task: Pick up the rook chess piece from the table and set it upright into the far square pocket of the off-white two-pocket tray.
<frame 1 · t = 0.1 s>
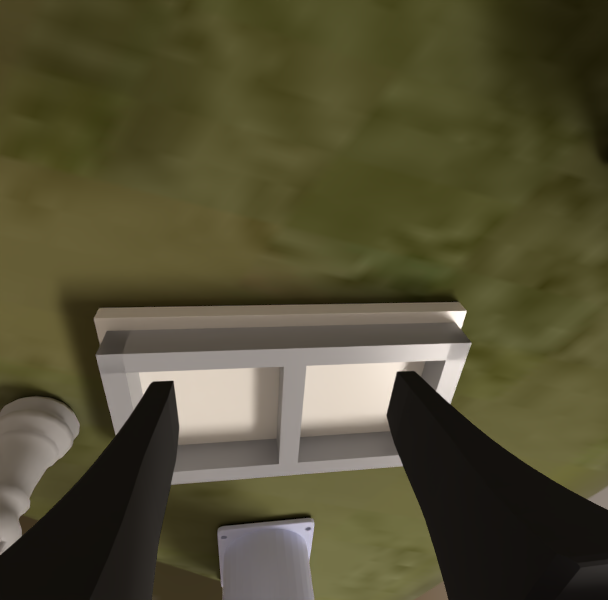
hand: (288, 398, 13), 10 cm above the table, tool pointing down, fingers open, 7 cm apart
pocket tray: (286, 383, 26), on the table
rook chess piece: (44, 415, 25), on the table
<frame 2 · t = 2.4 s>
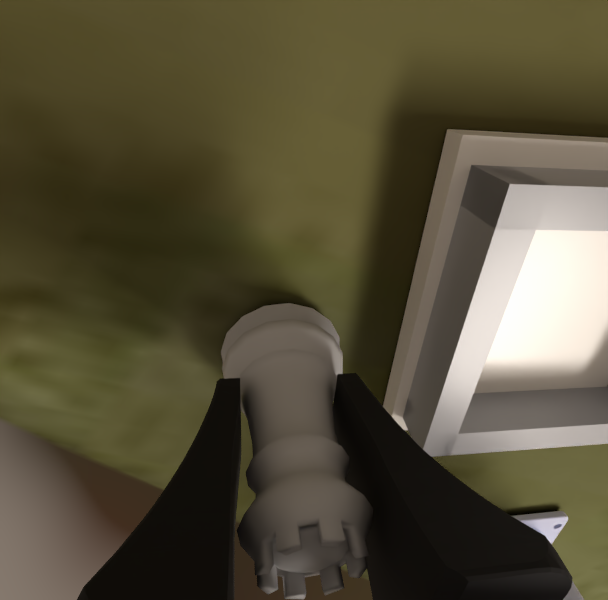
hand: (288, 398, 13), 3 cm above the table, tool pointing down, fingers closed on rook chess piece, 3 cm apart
rook chess piece: (280, 342, 16), on the table, touching gripper
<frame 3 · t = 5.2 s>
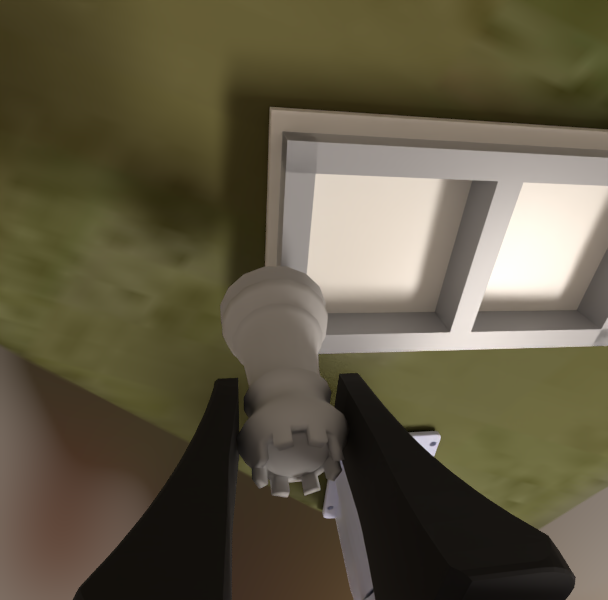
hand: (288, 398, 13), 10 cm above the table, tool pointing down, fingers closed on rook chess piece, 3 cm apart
pocket tray: (455, 240, 22), on the table
rook chess piece: (272, 303, 18), point 4 cm above the table, touching gripper
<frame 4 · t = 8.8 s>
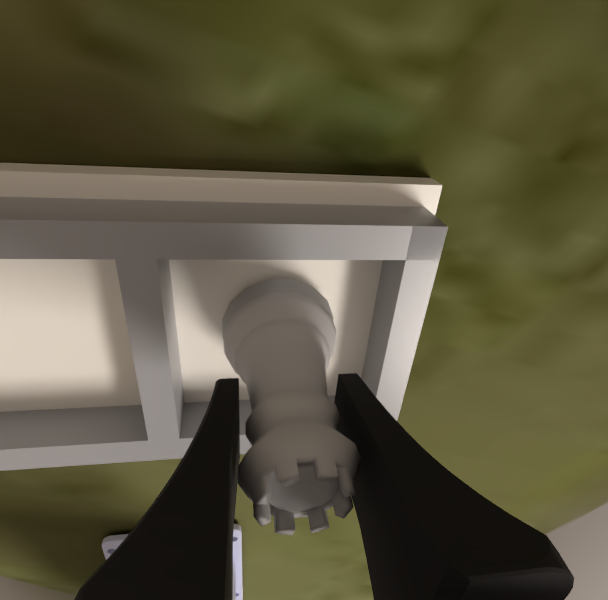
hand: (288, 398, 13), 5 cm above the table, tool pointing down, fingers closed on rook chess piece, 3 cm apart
pocket tray: (164, 315, 17), on the table
rook chess piece: (277, 318, 17), point 1 cm above the table, touching gripper, pocket tray
when the fingers open (4 cm above the table, at t = 9.4 s): rook chess piece stays where it is, resting on pocket tray.
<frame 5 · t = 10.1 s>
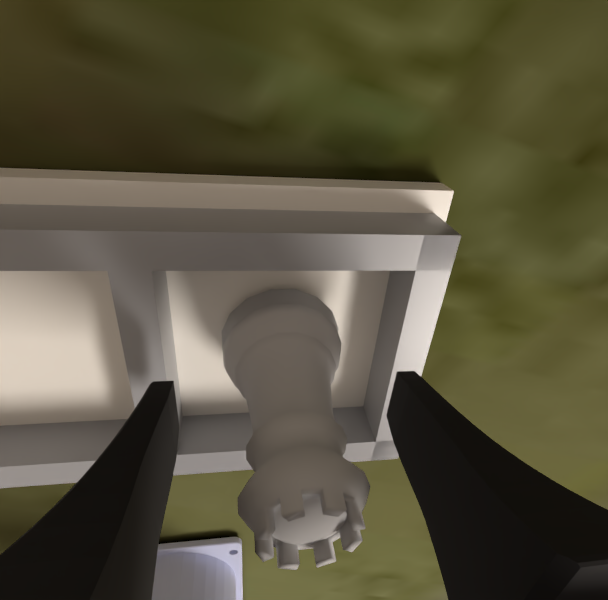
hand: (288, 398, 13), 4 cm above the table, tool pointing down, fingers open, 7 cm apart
pocket tray: (161, 326, 16), on the table
rook chess piece: (279, 328, 16), point 1 cm above the table, touching pocket tray
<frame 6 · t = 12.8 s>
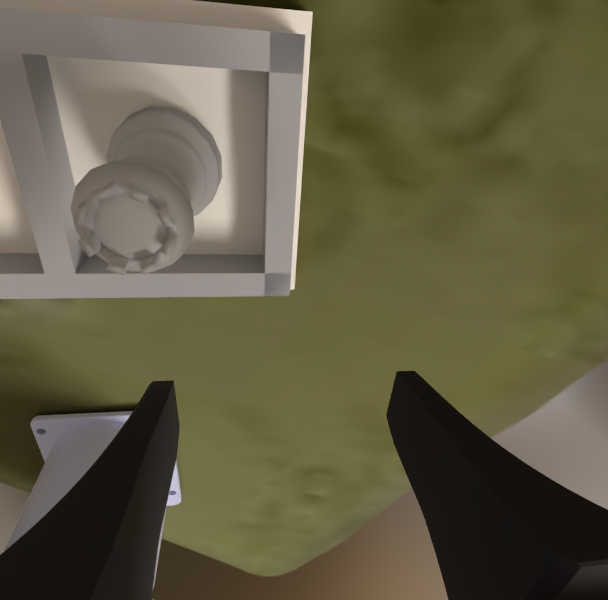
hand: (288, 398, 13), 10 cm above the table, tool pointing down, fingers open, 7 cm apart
pocket tray: (63, 159, 18), on the table
rook chess piece: (170, 160, 18), point 1 cm above the table, touching pocket tray
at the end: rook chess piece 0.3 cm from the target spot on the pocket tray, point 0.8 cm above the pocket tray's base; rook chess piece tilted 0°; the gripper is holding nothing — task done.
